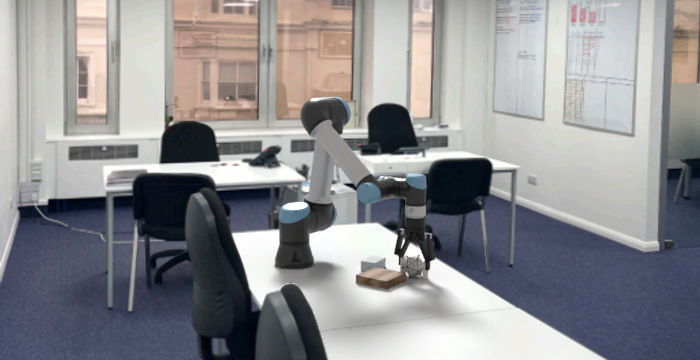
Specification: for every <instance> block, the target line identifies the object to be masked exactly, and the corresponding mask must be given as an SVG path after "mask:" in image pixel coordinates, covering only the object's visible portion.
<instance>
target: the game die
mask: <svg viewBox="0 0 700 360" xmlns="http://www.w3.org/2000/svg"><path fill="white" fill-rule="evenodd" d="M405 256H406V262H405V264H404V267H401V268H402V269H403V268H404V270H405V271H406V275H408V279H410V278H411V277H419V276H420V278H423V262H424V261H423V260H422V259H421V257H420V254H418V255H417V256H408V255H405Z"/></svg>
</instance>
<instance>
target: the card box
mask: <svg viewBox="0 0 700 360" xmlns="http://www.w3.org/2000/svg"><path fill="white" fill-rule="evenodd" d="M375 267H378V268H383V269H386V257H382V256H378V255H377V256H376V255H371V256H367V257H366V258H364V259H362V260H360V271H361V272H365V271H367V270H370V269H372V268H375Z"/></svg>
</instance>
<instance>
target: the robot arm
mask: <svg viewBox="0 0 700 360" xmlns="http://www.w3.org/2000/svg"><path fill="white" fill-rule="evenodd" d="M351 115H352V114H351V109H350V106H349V104H348V102H346V100H344V99H343V98H341V97H340V96H328V97H313V98H311V99H308V100H307V101H306V102H304V104H303V105H302V107H301V110H300V117H299V118H300V122H301V125H302V126H303V129H304V130H305V132H307V134H308V135H309V136H310V138H311V139H313V140H314V139H315V140H314V147H313V156H312V163H311V172H310V179H309V187H308V188H309V189H308V193H307V194H305V195H304V197H303V201H295V202H288V203H285V204H283V205H282V206H281V207H280V208H279V213H278V215H279V216H278V227H279V229H278V230H279V231H278V234H279V237H278V239H279V244H278V248H277V250H276V251H277V252H276V255H275V258H274V265H275V266H276V267H278V268H281V269H287V270H288V269H290V270H298V269H299V270H300V269H305V268H306V269H307V268H311V267H312V266H314V264H315V257H314V255H313V253H312V248H311V244H310V234H313V233H318V232H323V231H326V230H327V229H329V228H331V227H332V226H333V225H334V224H335V222H336V220H337V218H338V210H337V208H336V205H335V203H334V199H333V197H332V196H331V192H332V184H333V177H334V171H335V170H334V169H335V164H336V165H337V166H338V167H339V168H340V170H341V172H343V173H344V175H345V176H346V177H347V178H348V180H349V181H350V182H351V183H352V184H353V186H354V187H355V188H356V195H357V199H358V200H359V201H360V202H361V203H362V204H365V205H371V204H376V203H378V202H381V201H387V200H389V199H402V200H405V201H404V202H405V203H404V204H405V205H404V206H405V208H404V214H405V217H404V226H405V228H399V229H397V236H396V237H397V238H396V243H395V245H394V251H393V254H394V255H395V256H398V266H399V268H400V269H399V270H400V271H399V272H403V273H406V274H407V272H406V271H405V270H404V268H403V269H402V268H401V267H404V264H405V262H406V260H407V257H406V256H407V255H406V252H407V250H408V248H409V246H410V244H411V242H414V243H417V246H418V247H419V249H420V252H421V254H422V257H423V259H424V261H422V262H423V271H422V280H426V279H428V278H429V271H430V269H431V261H434V260H436V254H435V248H434V241H433V239H434V238H433V236H434V234H433V232H431V233H429V232H427V231H426V221H427V220H426V216H427V213H426V212H427V203H426V202H427V201H426V200H427V187H428V186H427V176H426V175H424V174H423V173H407V174H406V175H405V177H404V178H401V177H395V176H394V177H393V176H390V175H385V176H384V175H382V176H379V177H378V179H377V178H376V177H375V176H374V174H372V172H371V171H370V170H369V169H368V168H367V166H366V165H365V163H363V162H362V160H361V159H360V158H359V157H358V155H357V154H356V153H355V152H354V151H353V150H352V148H351V147H350V146H349V144H348V143H347V142H346V141H345V140H344V139H343V137H342V135H343V131H344V127H345V126H346V125H347V124H348V123H349V122H350V120H351ZM405 236H406V237H405ZM404 237H405V239H404ZM425 240H426V241H425Z"/></svg>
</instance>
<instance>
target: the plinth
mask: <svg viewBox="0 0 700 360" xmlns="http://www.w3.org/2000/svg"><path fill="white" fill-rule="evenodd" d="M406 281H407V272H406V273H403V272H400V271H396V270H392V269H387V268H378V267H375V268H372V269H370V270H367V271H361V272H360V273H358V274H356V275H355V283H356V284H359V285H363V286H368V287H371V288H378V289H382V290H386V291H387V290H389V289H391V288H394V287H396V286H399V285H400V284H403V283H404V282H406Z"/></svg>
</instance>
